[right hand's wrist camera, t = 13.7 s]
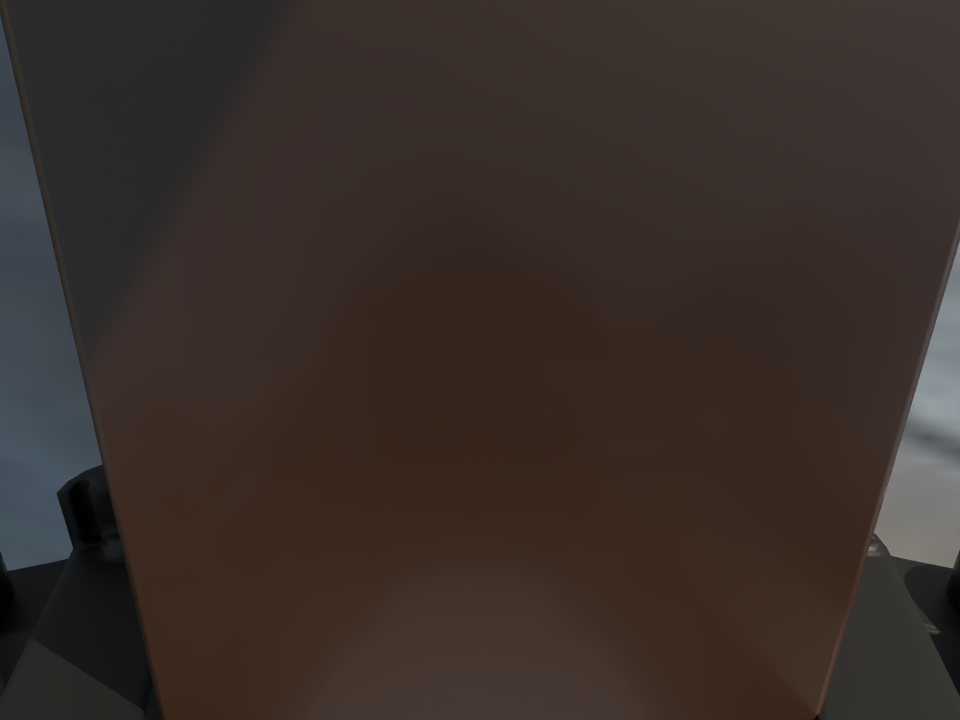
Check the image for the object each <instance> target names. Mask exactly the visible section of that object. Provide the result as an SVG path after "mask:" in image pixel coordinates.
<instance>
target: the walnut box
mask: <svg viewBox="0 0 960 720" xmlns="http://www.w3.org/2000/svg"><path fill="white" fill-rule="evenodd" d="M0 15H1V19H2V23H3V28H4V32H5V37H6V41H7V45H8V50H9V54H10V59H11V63H12V67H13V72H14V76H15V80H16V85H17V89H18V94H19V98H20V102H21V107H22V111H23V116H24V120H25V124H26V129H27V133H28V138H29V142H30V146H31V151H32V155H33V160H34V164H35V168H36V173H37V177H38V182H39V186H40V190H41V195H42V199H43V204H44V208H45V212H46V217H47V221H48V226H49V230H50V234H51V239H52V243H53V248H54V252H55V256H56V261H57V265H58V270H59V274H60V278H61V283H62V287H63V291H64V296H65V300H66V305H67V309H68V313H69V318H70V322H71V327H72V331H73V335H74V340H75V344H76V349H77V353H78V357H79V362H80V366H81V371H82V375H83V379H84V384H85V388H86V393H87V397H88V401H89V406H90V410H91V415H92V419H93V423H94V428H95V432H96V437H97V441H98V445H99V450H100V454H101V459H102V463H103V467H104V472H105V476H106V481H107V485H108V489H109V494H110V498H111V503H112V507H113V511H114V516H115V520H116V524H117V529H118V533H119V538H120V542H121V546H122V551H123V555H124V560H125V564H126V568H127V573H128V577H129V582H130V586H131V590H132V595H133V599H134V604H135V608H136V612H137V617H138V621H139V626H140V630H141V634H142V639H143V643H144V648H145V652H146V656H147V661H148V665H149V670H150V674H151V678H152V683H153V687H154V692H155V696H156V700H157V705H158V709H159V714H160V718H161V720H816V719H817V715H818V714H820V712H821V709H822V706H823V702H824V699H825V696H826V692H827V689H828V685H829V682H830V679H831V675H832V672H833V668H834V665H835V662H836V658H837V655H838V651H839V648H840V645H841V641H842V638H843V635H844V631H845V628H846V624H847V621H848V618H849V614H850V611H851V607H852V604H853V601H854V597H855V594H856V590H857V587H858V584H859V580H860V577H861V573H862V570H863V567H864V563H865V560H866V557H867V553H868V550H869V546H870V543H871V540H872V536H873V533H874V529H875V526H876V523H877V519H878V516H879V512H880V509H881V506H882V502H883V499H884V495H885V492H886V489H887V485H888V482H889V479H890V475H891V472H892V468H893V465H894V462H895V458H896V455H897V451H898V448H899V445H900V441H901V438H902V434H903V431H904V428H905V424H906V421H907V418H908V414H909V411H910V407H911V404H912V401H913V397H914V394H915V390H916V387H917V384H918V380H919V377H920V373H921V370H922V367H923V363H924V360H925V356H926V353H927V350H928V346H929V343H930V340H931V336H932V333H933V329H934V326H935V323H936V319H937V316H938V312H939V309H940V306H941V302H942V299H943V295H944V292H945V289H946V285H947V282H948V279H949V275H950V272H951V268H952V265H953V262H954V258H955V255H956V251H957V248H958V245H959V241H960V0H0Z"/></svg>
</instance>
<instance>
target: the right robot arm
mask: <svg viewBox="0 0 960 720" xmlns="http://www.w3.org/2000/svg"><path fill="white" fill-rule="evenodd" d="M57 496H58V499H59V503H60V506H61V509H62V512H63V516H64V519H65V522H66V525H67V529H68V532H69V535H70V539H71V542H72V545H73V548H74V549H73V551H72V553H71V555H70V557H69V559H65V560H61V561H57V562H52V563H47V564H42V565H37V566H32V567H27V568H22V569H17V570H12V571H7V569H6V566H5V563H4V561H3V558H2V555H1V552H0V720H161V718H160V714H159V709H158V705H157V700H156V696H155V692H154V687H153V683H152V678H151V674H150V670H149V665H148V661H147V656H146V652H145V648H144V643H143V639H142V634H141V630H140V626H139V621H138V617H137V612H136V608H135V604H134V599H133V595H132V590H131V586H130V582H129V577H128V573H127V568H126V564H125V560H124V555H123V551H122V546H121V542H120V538H119V533H118V529H117V524H116V520H115V516H114V511H113V507H112V503H111V498H110V494H109V489H108V485H107V481H106V476H105V472H104V467H103V465H100V466H97V467H95V468H92V469H89V470H87V471H85V472H83V473H81V474H80V475H78V476H76V477H75V478H73V479H71V480H70V481H68V482H67V483H66V484H65V485H64V486H63V487H62V488H61V489H60V490H59V491H58V492H57ZM816 720H960V551H959V553H958V556H957V559H956V562H955V565H954V567H953V569H952V568H947V567H942V566H937V565H932V564H927V563H922V562H917V561H912V560H907V559H902V558H898V557H894V556H890V553H889V551H888V549H887V548H886V546H885V545H884V544H883V543H882V541H881V540H880V539H879V538H878V536H877V535H876V534H874V533H873V536H872V540H871V543H870V546H869V550H868V553H867V557H866V560H865V563H864V567H863V570H862V573H861V577H860V580H859V584H858V587H857V590H856V594H855V597H854V601H853V604H852V607H851V611H850V614H849V618H848V621H847V624H846V628H845V631H844V635H843V638H842V641H841V645H840V648H839V651H838V655H837V658H836V662H835V665H834V668H833V672H832V675H831V679H830V682H829V685H828V689H827V692H826V696H825V699H824V702H823V706H822V709H821V712H820V714H818V715H817V719H816Z"/></svg>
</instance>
